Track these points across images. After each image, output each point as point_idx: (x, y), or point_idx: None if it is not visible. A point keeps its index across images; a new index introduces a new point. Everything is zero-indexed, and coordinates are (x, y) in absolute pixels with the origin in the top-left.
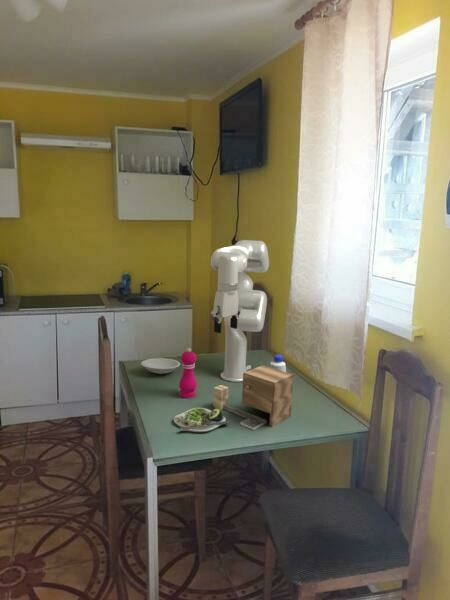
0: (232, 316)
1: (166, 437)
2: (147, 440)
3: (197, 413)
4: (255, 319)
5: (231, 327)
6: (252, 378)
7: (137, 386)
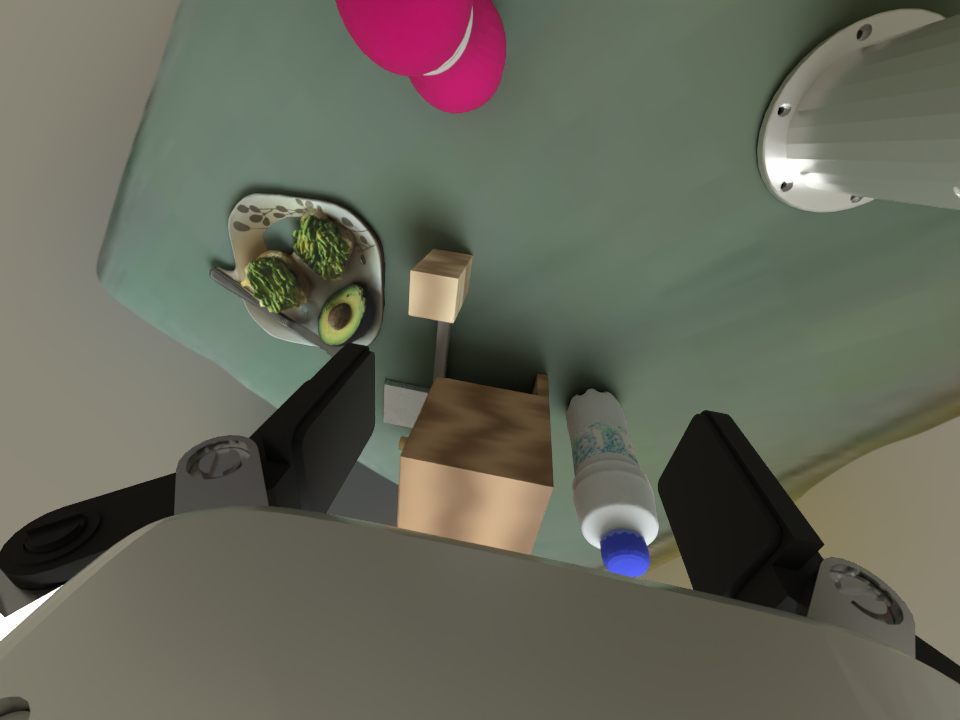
0: (799, 604)
1: (171, 252)
2: (113, 216)
3: (312, 261)
4: None
5: (686, 431)
6: (399, 485)
7: None
